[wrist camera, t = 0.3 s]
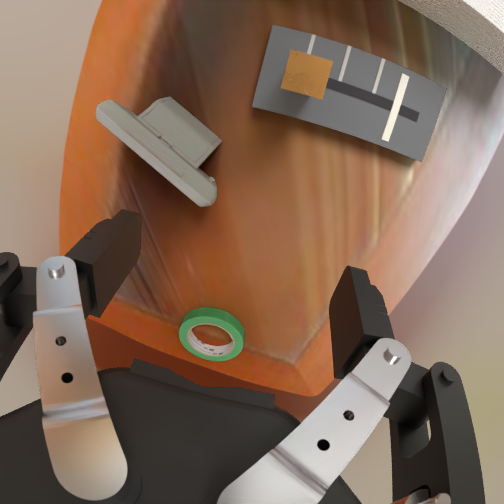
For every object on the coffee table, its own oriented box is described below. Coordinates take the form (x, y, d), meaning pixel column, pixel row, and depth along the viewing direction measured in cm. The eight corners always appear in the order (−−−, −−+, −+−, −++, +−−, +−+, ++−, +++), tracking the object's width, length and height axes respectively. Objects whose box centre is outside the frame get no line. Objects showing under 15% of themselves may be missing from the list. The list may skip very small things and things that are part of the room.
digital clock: (118, 115, 37) (71, 132, 27) (166, 70, 33) (126, 71, 24) (191, 207, 42) (165, 247, 33) (245, 170, 39) (230, 202, 30)
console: (273, 27, 29) (272, 24, 27) (439, 87, 30) (447, 88, 28) (253, 105, 35) (251, 106, 33) (416, 158, 35) (422, 162, 33)
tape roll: (255, 322, 52) (253, 333, 50) (231, 358, 58) (228, 369, 56) (193, 296, 51) (189, 306, 49) (175, 336, 56) (171, 346, 54)
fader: (290, 55, 29) (290, 49, 22) (323, 65, 29) (333, 61, 22) (282, 85, 31) (280, 88, 24) (314, 94, 31) (322, 99, 24)
